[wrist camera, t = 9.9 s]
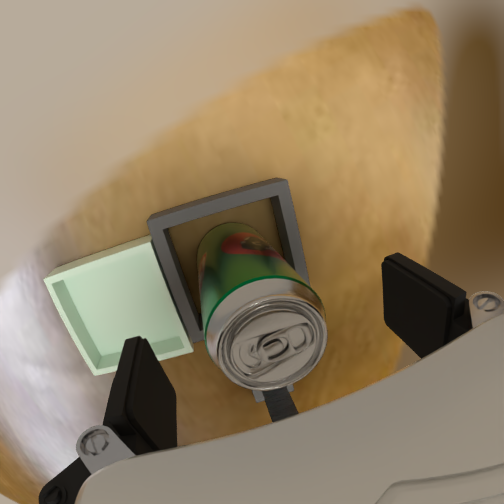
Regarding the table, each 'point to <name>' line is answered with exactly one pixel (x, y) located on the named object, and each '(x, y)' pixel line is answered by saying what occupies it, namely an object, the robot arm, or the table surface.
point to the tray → (118, 304)
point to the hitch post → (277, 402)
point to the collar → (214, 204)
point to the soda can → (257, 311)
